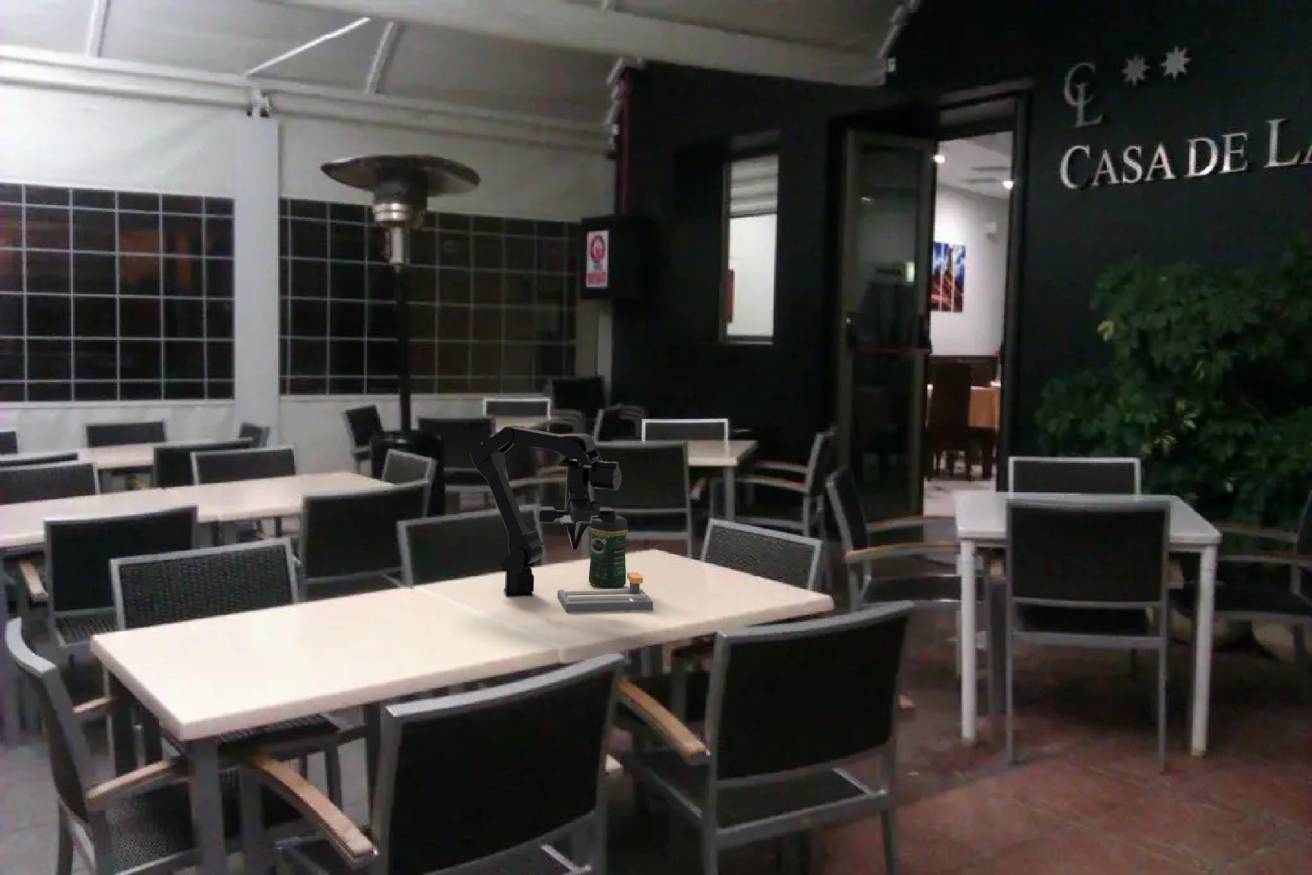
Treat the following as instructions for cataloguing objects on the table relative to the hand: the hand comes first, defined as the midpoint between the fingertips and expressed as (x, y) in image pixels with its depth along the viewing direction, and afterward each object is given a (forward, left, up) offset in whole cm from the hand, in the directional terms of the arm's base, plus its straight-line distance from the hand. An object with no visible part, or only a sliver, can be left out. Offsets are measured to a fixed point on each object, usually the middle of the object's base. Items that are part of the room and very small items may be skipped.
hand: (574, 549), depth 273 cm
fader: (+14, -4, -11) cm, 18 cm away
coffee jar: (+12, +15, -13) cm, 23 cm away
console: (+7, -4, -13) cm, 15 cm away
